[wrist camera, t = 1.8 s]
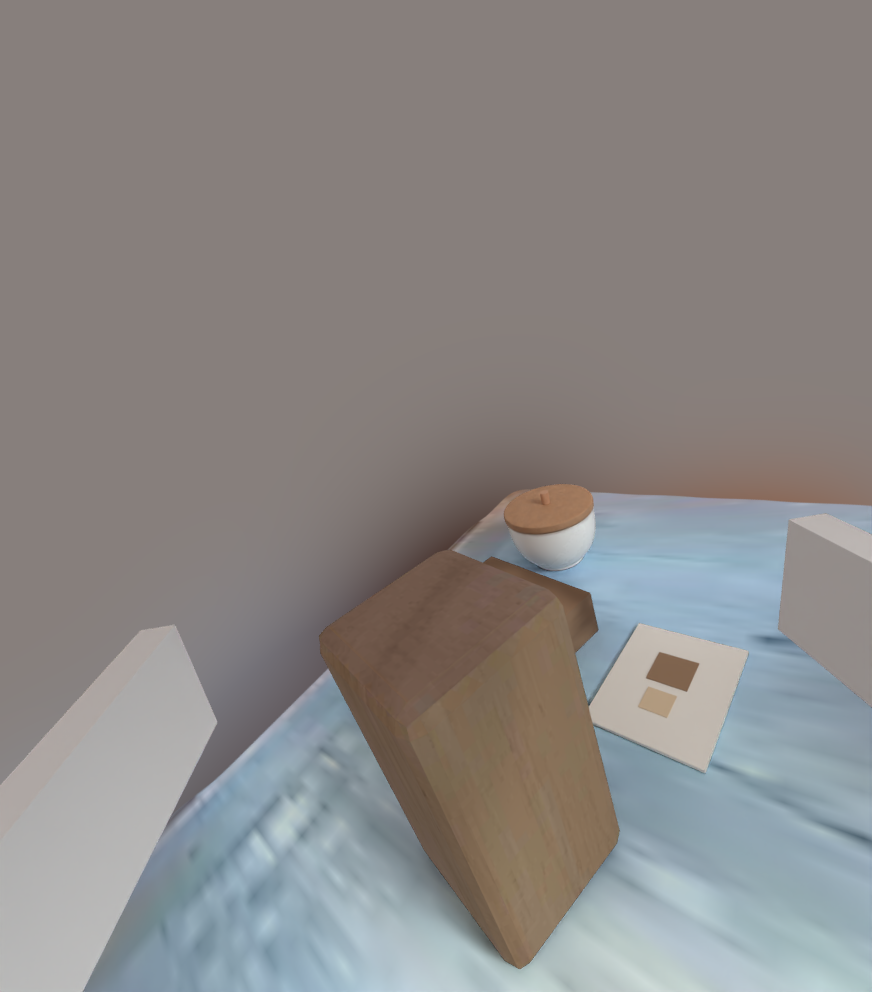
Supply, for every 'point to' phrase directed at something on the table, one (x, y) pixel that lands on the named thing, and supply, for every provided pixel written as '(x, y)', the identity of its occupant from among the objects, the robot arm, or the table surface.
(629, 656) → the page
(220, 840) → the table surface
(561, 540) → the lidded jar
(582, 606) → the base brick
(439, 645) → the wooden block
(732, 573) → the table surface
